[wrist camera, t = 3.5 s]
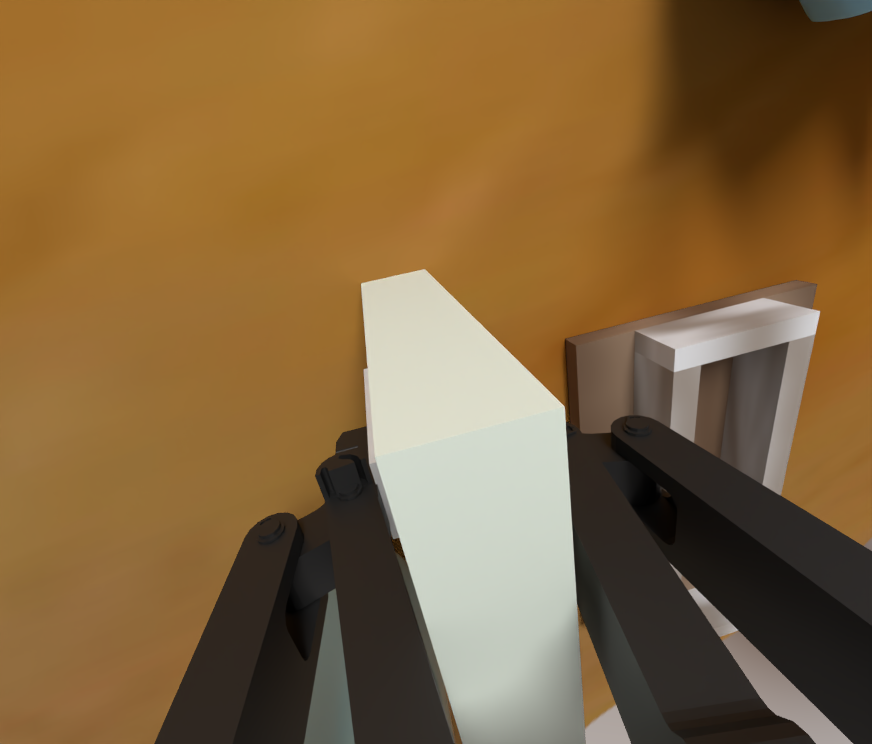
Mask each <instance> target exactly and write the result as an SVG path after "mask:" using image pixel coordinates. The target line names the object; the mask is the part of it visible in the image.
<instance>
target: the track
mask: <svg viewBox="0 0 872 744" xmlns="http://www.w3.org/2000/svg"><path fill="white" fill-rule="evenodd" d="M816 287H817V284H814V283H809V282H803V281H797V280H795V281H791V282H787V283H783V284H779V285H775V286H771V287H767V288H763V289H759V290H756V291H752V292H748V293H744V294H740V295H736V296H732V297H728V298H724V299H720V300H716V301H712V302H708V303H704V304H700V305H696V306H693V307H689V308H685V309H681V310H677V311H673V312H669V313H665V314H661V315H657V316H653V317H649V318H645V319H641V320H637V321H633V322H629V323H626V324H622V325H618V326H614V327H610V328H606V329H602V330H598V331H594V332H590V333H586V334H582V335H578V336H574V337H570V338H566V339H565V342H566V358H567V375H568V392H569V409H570V424H573V425H575V426H576V427H577V428H578V429H580V431H581V432H582V433H585V434H595V433H611V424H612V423H613V421H614V420H616V419H618V418H620V417H624V416H628V415H640V416H645V417H650V418H652V419H655V420H657V421H659V422H660V423H662V424H664V425H665V426H667V427H669V428H670V429H672V430H674V431H675V432H677V433H678V434H680V435H682V436H683V437H685V438H687V439H688V440H690V441H692V442H693V443H695V444H697V445H698V446H700V447H701V448H703V449H705V450H706V451H708V452H710V453H711V454H713V455H715V456H716V457H718V458H720V459H721V460H723V461H724V462H726V463H728V464H729V465H731V466H733V467H734V468H736V469H738V470H739V471H741V472H742V473H744V474H746V475H747V476H749V477H751V478H752V479H754V480H756V481H757V482H759V483H761V484H762V485H764V486H765V487H767V488H769V489H770V490H772V491H774V492H775V493H777V494H779V495H780V496H781V492H782V487H783V482H784V478H785V473H786V468H787V464H788V459H789V454H790V450H791V445H792V440H793V436H794V431H795V426H796V422H797V417H798V412H799V408H800V403H801V398H802V394H803V389H804V384H805V379H806V375H807V370H808V365H809V361H810V356H811V351H812V347H813V342H814V337H815V333H816V328H817V323H818V319H819V314H820V311H817V310H813V309H812V307H813V302H814V297H815V292H816ZM664 490H665V489H664ZM665 491H666V490H665ZM671 566H672V565H671ZM672 567H673V566H672ZM673 569H674V570H675V572H676V573H677V575H678V576H679V578H680V579H681V581H682V582H683V584H684V585H685V587H686V588H687V590H688V591H689V593H690V594H691V596H692V597H693V599H694V600H695V601H696V603H697V604H698V606H699V607H700V609H701V610H702V612H703V613H704V615H705V616H706V618H707V619H708V621H709V622H710V624H711V625H712V627H713V628H714V630H715V631H716V633H717V634H718V636H719V637H720V636H723V635H726V634H729V633H732V632H735V631H738V630H737V629H736V628H735V627H734V626H733V625H732V624H731V623H730V622H729V621H728V620H727V619H726V618H725V617H724V616H723V615H722V614H721V613H720V612H719V611H718V610H717V609H716V608H715V607H714V606H713V605H712V604H711V603H710V602H709V601H708V600H707V599H706V598H705V597H704V596H703V595H702V594H701V593H700V592H699V591H698V590H697V589H696V588H695V587H694V586H693V585H692V584H691V583H690V582H689V581H688V580H687V579H686V578H685V577H684V576H683V575H682V574H681V573H680V572H679V571H678V570H676V569H675V568H674V567H673ZM582 618H583V617H582Z"/></svg>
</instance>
